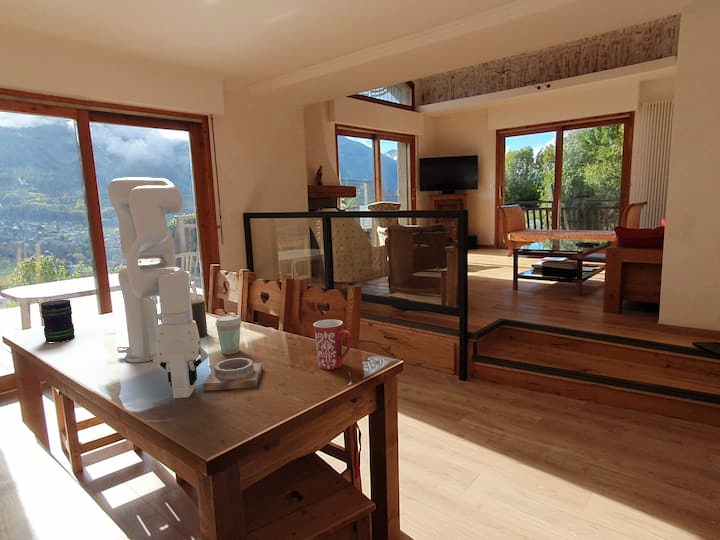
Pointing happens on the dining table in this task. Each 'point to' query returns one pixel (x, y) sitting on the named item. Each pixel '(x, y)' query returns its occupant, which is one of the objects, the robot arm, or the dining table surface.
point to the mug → (330, 343)
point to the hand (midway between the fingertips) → (183, 383)
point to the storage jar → (57, 320)
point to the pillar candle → (199, 315)
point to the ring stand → (233, 374)
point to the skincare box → (180, 376)
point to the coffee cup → (229, 333)
